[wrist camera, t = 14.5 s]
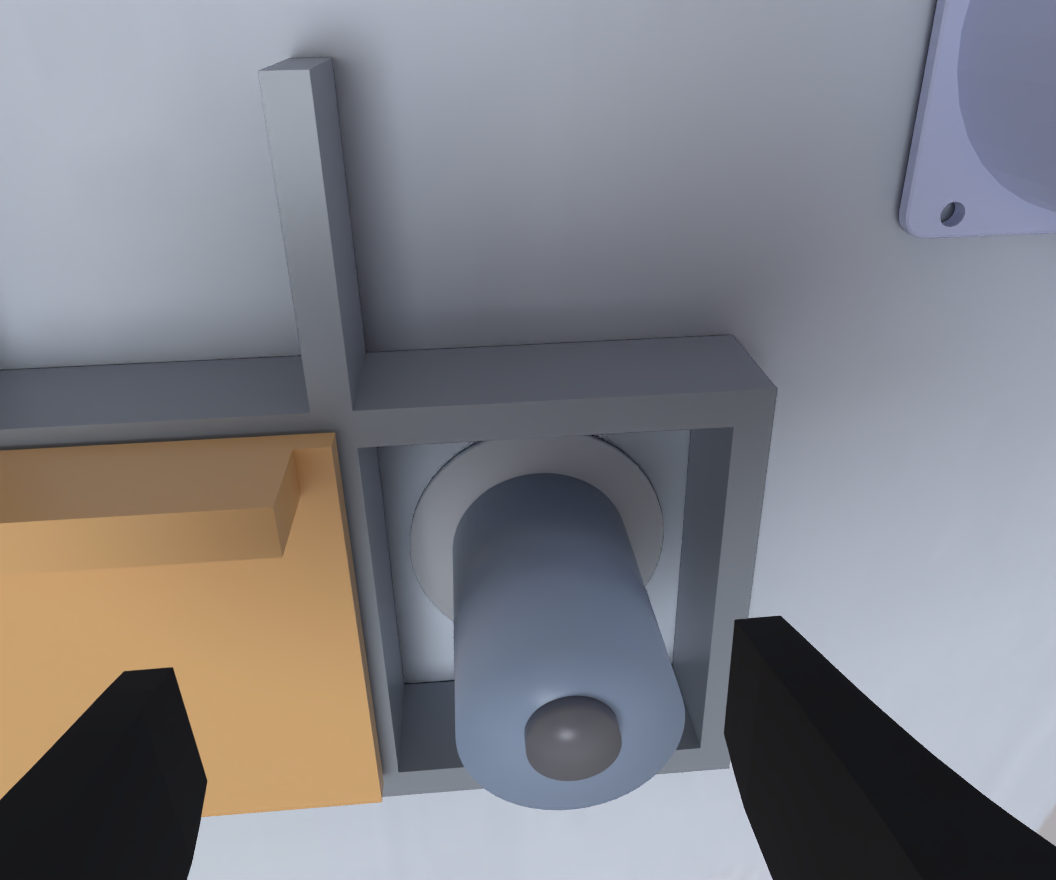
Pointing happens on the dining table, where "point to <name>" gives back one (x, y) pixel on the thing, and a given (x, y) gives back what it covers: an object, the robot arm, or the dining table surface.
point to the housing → (449, 440)
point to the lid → (192, 609)
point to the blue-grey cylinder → (557, 649)
